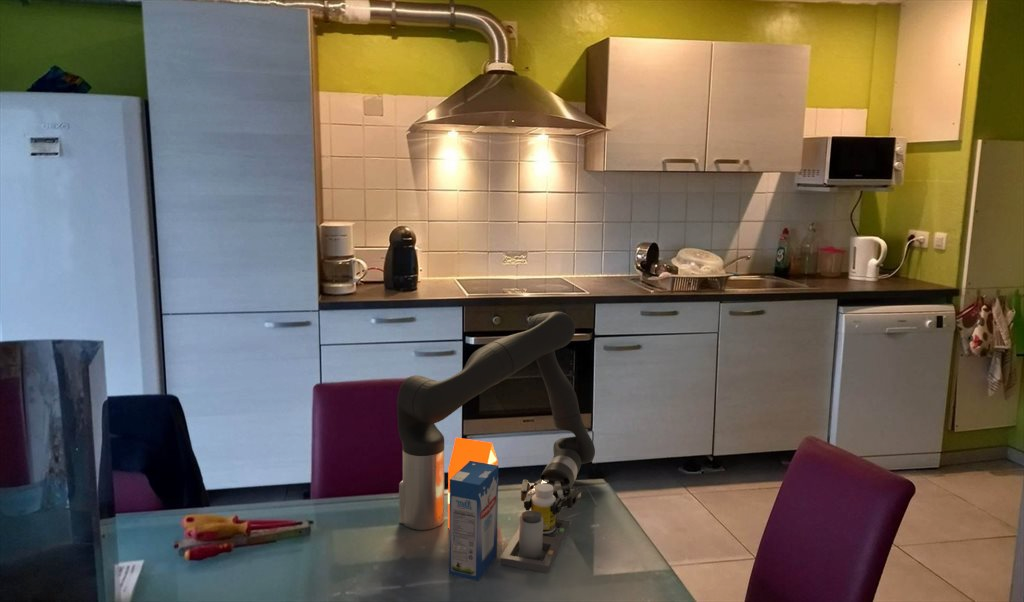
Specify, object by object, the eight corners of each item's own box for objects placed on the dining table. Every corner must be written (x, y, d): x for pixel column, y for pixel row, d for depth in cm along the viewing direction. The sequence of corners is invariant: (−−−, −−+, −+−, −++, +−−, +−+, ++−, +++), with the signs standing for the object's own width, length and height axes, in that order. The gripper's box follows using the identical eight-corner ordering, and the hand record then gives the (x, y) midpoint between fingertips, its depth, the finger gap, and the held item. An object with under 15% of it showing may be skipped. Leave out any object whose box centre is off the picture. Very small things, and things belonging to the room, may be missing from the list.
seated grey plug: (516, 560, 153) (517, 518, 151) (522, 548, 158) (523, 508, 156) (538, 564, 152) (540, 522, 150) (544, 552, 156) (545, 511, 154)
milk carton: (478, 581, 145) (479, 484, 141) (448, 574, 147) (449, 479, 143) (496, 556, 154) (498, 465, 151) (469, 550, 156) (470, 460, 153)
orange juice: (484, 536, 163) (486, 449, 159) (447, 528, 165) (447, 443, 162) (496, 520, 170) (498, 436, 166) (460, 513, 173) (461, 431, 169)
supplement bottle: (553, 536, 161) (554, 494, 159) (528, 533, 162) (529, 491, 160) (556, 524, 166) (558, 483, 164) (532, 521, 167) (533, 480, 165)
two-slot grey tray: (500, 564, 151) (500, 556, 151) (526, 520, 170) (527, 512, 170) (548, 573, 148) (548, 564, 148) (569, 527, 167) (570, 519, 167)
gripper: (529, 457, 177) (508, 487, 161) (589, 465, 173) (574, 497, 157) (529, 487, 179) (508, 519, 163) (588, 495, 175) (572, 530, 159)
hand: (540, 508), depth 160 cm, fingers closed on supplement bottle, 5 cm apart
